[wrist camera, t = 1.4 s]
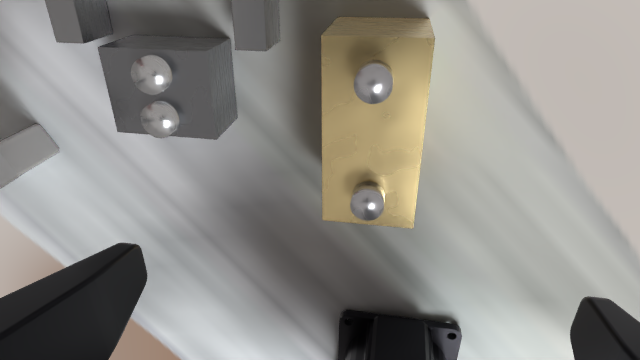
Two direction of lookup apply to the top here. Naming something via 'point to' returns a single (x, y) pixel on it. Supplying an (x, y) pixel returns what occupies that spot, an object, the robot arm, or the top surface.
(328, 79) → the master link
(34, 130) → the grey angular piece
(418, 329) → the robot arm
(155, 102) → the studded rectangular link
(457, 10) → the top surface
